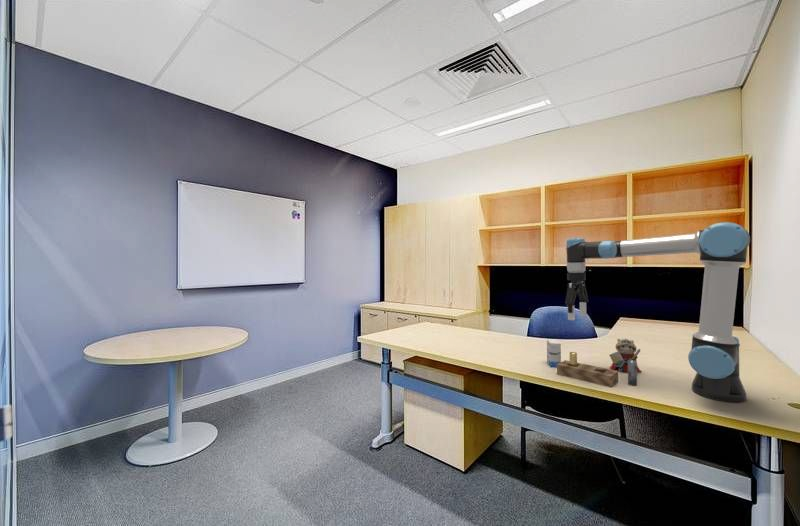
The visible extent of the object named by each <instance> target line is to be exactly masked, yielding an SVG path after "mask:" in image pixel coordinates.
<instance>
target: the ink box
mask: <svg viewBox="0 0 800 526" xmlns="http://www.w3.org/2000/svg"><path fill="white" fill-rule="evenodd" d="M561 347H562V345H561V342H559V341H558V340H557V339H546V362H547V363H548V365H549V367H551V368H557V364H559V363H561V362H562V352H561V351H562V349H561Z"/></svg>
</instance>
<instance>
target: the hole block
mask: <svg viewBox="0 0 800 526" xmlns="http://www.w3.org/2000/svg"><path fill="white" fill-rule="evenodd" d="M556 374H557V375H559V376H564V377H568V378H572V379H574V380H575V379H576V380H581V381H585V382H589V383H592V384H596V385H600V386H603V387H604V386H605V387H609V388H612V387H613V386H616V385H617V383H619V370H616V369H614V370H611V369H610V368H605V367H600V366H595V365H592V364H591V365H590V364H585V363H580V362H577V367H574V366H570V360H563V361H561V363H559V364H557V367H556Z"/></svg>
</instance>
